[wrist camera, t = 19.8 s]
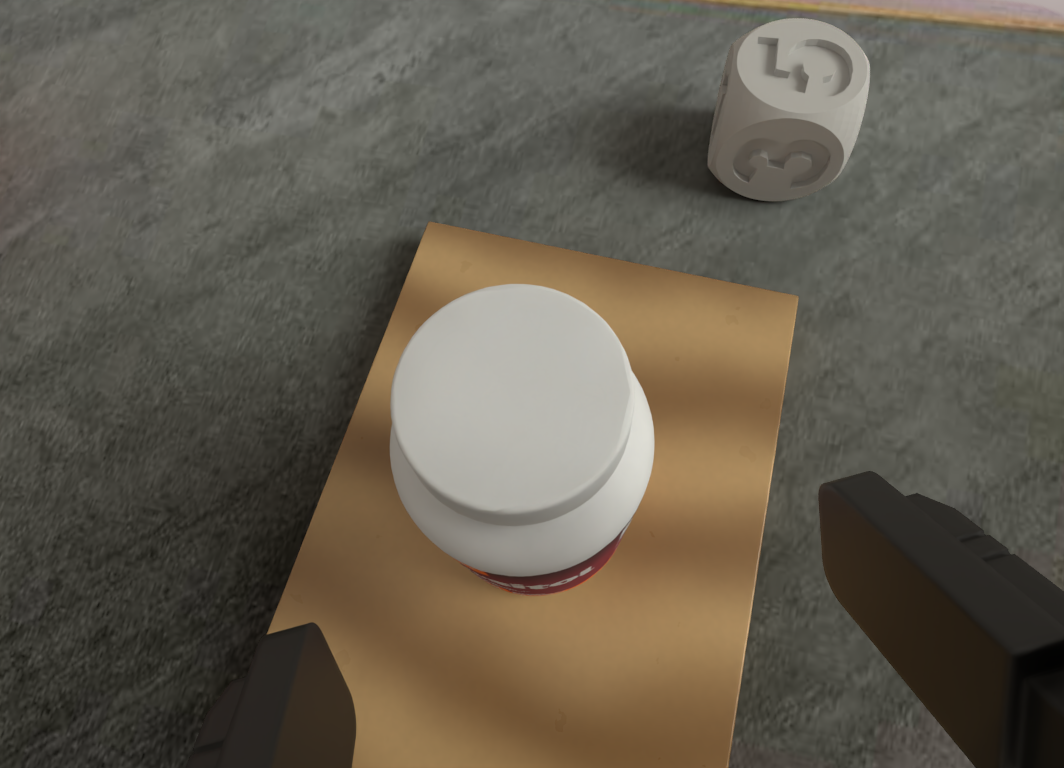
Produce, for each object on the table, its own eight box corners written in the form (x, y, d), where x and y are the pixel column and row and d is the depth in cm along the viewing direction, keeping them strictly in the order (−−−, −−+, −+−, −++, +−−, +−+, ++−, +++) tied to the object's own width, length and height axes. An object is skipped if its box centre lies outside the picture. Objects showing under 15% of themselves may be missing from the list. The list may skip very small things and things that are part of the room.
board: (435, 241, 29) (427, 220, 27) (787, 314, 26) (799, 295, 25) (243, 741, 22) (221, 747, 20) (696, 897, 20) (706, 917, 18)
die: (713, 107, 30) (738, 10, 26) (825, 119, 30) (872, 22, 25) (702, 195, 29) (727, 108, 24) (821, 210, 28) (870, 123, 23)
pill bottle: (424, 573, 22) (294, 510, 12) (474, 403, 24) (401, 224, 14) (608, 620, 21) (641, 596, 11) (643, 439, 23) (698, 277, 13)
